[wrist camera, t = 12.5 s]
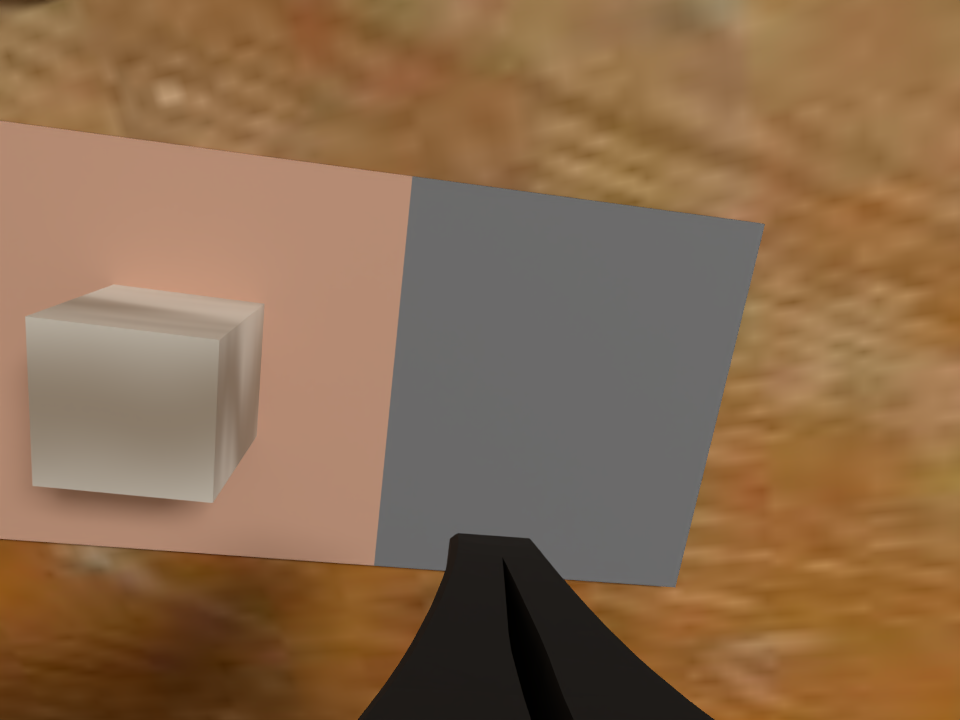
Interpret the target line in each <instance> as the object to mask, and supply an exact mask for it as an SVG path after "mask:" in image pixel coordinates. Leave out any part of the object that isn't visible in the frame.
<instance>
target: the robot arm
mask: <svg viewBox="0 0 960 720" xmlns="http://www.w3.org/2000/svg"><path fill="white" fill-rule="evenodd" d="M358 720H714V719H713V718H711V717H710V716H709V715H707V714H706V713H705V712H703V711H702V710H701V709H699V708H698V707H697V706H695V705H694V704H693V703H692V702H690V701H689V700H688V699H686V698H685V697H684V696H683V695H682V694H680V693H679V692H678V691H677V690H676V689H674V688H673V687H672V686H671V685H670V684H668V683H667V682H666V681H665V680H664V679H662V678H661V677H660V676H659V675H657V674H656V673H655V672H654V671H653V670H651V669H650V668H649V667H648V666H647V665H646V664H645V663H644V662H643V661H641V660H640V659H639V658H638V657H637V656H636V655H635V654H634V653H633V652H632V651H631V650H630V649H629V648H628V647H627V646H626V645H625V644H624V643H623V642H622V641H621V640H619V639H618V638H617V637H616V636H615V635H614V634H613V633H612V632H611V631H610V630H609V629H608V628H607V627H606V626H605V625H604V624H603V623H602V621H601V620H600V619H599V618H598V617H597V616H596V615H595V614H594V613H593V612H592V611H591V610H590V609H589V608H588V607H587V605H586V604H585V603H584V602H583V601H582V600H581V599H580V598H579V597H578V595H577V594H576V593H575V592H574V591H573V590H572V589H571V587H570V586H569V585H568V584H567V583H566V582H565V580H564V579H563V578H562V577H561V576H560V574H559V573H558V572H557V571H556V570H555V568H554V567H553V566H552V565H551V563H550V562H549V561H548V560H547V559H546V557H545V556H544V555H543V554H542V552H541V551H540V550H539V549H538V548H537V546H536V545H535V544H534V543H533V542H532V540H531V539H530V538H520V537H506V536H492V535H478V534H464V533H457V534H455V535H454V536H453V537H451V538H450V541H449V549H448V557H447V565H446V570H445V573H444V576H443V579H442V581H441V584H440V586H439V589H438V591H437V594H436V596H435V598H434V601H433V603H432V605H431V608H430V610H429V612H428V613H427V615H426V617H425V619H424V621H423V623H422V625H421V627H420V629H419V631H418V632H417V634H416V636H415V638H414V640H413V642H412V643H411V645H410V647H409V648H408V650H407V652H406V653H405V655H404V657H403V658H402V660H401V661H400V663H399V664H398V666H397V667H396V669H395V670H394V672H393V673H392V675H391V676H390V678H389V679H388V681H387V682H386V683H385V685H384V686H383V688H382V689H381V690H380V691H379V693H378V694H377V695H376V697H375V698H374V699H373V701H372V702H371V703H370V705H369V706H368V707H367V709H366V710H365V711H364V712H363V714H362V715H361V716H360V717H359V719H358Z"/></svg>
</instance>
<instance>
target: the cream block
mask: <svg viewBox="0 0 960 720" xmlns="http://www.w3.org/2000/svg"><path fill="white" fill-rule="evenodd" d="M264 305H265V304H263V303H255V302H247V301H240V300H232V299H224V298H216V297H208V296H201V295H193V294H185V293H177V292H169V291H162V290H154V289H146V288H138V287H130V286H123V285H115V284H113V285H111V286H108V287H105V288H102V289H100V290H97V291H94V292H91V293H89V294H86V295H83V296H80V297H78V298H75V299H72V300H69V301H66V302H64V303H61V304H58V305H55V306H53V307H50V308H47V309H44V310H42V311H39V312H36V313H33V314H31V315H28V316H25V323H26V346H27V369H28V392H29V415H30V438H31V461H32V484H33V486H39V487H50V488H60V489H71V490H81V491H92V492H103V493H113V494H124V495H134V496H145V497H155V498H166V499H176V500H187V501H197V502H208V503H213V502H214V500H215V499H216V497H217V496H218V494H219V493H220V491H221V490H222V488H223V487H224V485H225V484H226V482H227V481H228V479H229V477H230V476H231V474H232V473H233V471H234V470H235V468H236V467H237V465H238V464H239V462H240V461H241V459H242V458H243V456H244V455H245V453H246V452H247V450H248V449H249V447H250V446H251V444H252V443H253V441H254V439H255V438H256V436H257V424H258V407H259V390H260V373H261V356H262V339H263V322H264Z"/></svg>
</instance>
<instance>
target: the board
mask: <svg viewBox="0 0 960 720" xmlns="http://www.w3.org/2000/svg"><path fill="white" fill-rule="evenodd" d="M764 225H765V224H761V223H755V222H748V221H740V220H733V219H725V218H718V217H710V216H703V215H696V214H688V213H681V212H673V211H666V210H658V209H651V208H644V207H636V206H629V205H621V204H614V203H606V202H599V201H592V200H584V199H577V198H569V197H562V196H555V195H547V194H540V193H532V192H525V191H517V190H510V189H503V188H495V187H488V186H480V185H473V184H465V183H458V182H451V181H443V180H436V179H428V178H421V177H413V176H406V175H399V174H391V173H384V172H376V171H369V170H362V169H354V168H347V167H339V166H332V165H324V164H317V163H310V162H302V161H295V160H287V159H280V158H272V157H265V156H258V155H250V154H243V153H235V152H228V151H221V150H213V149H206V148H198V147H191V146H183V145H176V144H169V143H161V142H154V141H146V140H139V139H131V138H124V137H117V136H109V135H102V134H94V133H87V132H79V131H72V130H65V129H57V128H50V127H42V126H35V125H28V124H20V123H13V122H5V121H0V539H11V540H25V541H39V542H53V543H67V544H81V545H95V546H109V547H123V548H136V549H150V550H164V551H178V552H192V553H206V554H220V555H234V556H248V557H262V558H276V559H290V560H304V561H317V562H331V563H345V564H359V565H373V566H387V567H401V568H415V569H429V570H443V571H445V570H446V565H447V557H448V549H449V541H450V538H451V537H453V536H454V535H455V534H457V533H464V534H478V535H492V536H506V537H520V538H530V539H531V540H532V542H533V543H534V544H535V545H536V546H537V548H538V549H539V550H540V551H541V552H542V554H543V555H544V556H545V557H546V559H547V560H548V561H549V562H550V563H551V565H552V566H553V567H554V568H555V570H556V571H557V572H558V573H559V574H560V576H561V577H562V578H563V579H568V580H582V581H596V582H610V583H624V584H638V585H652V586H666V587H675V586H676V582H677V578H678V574H679V570H680V566H681V562H682V558H683V554H684V550H685V546H686V541H687V537H688V533H689V529H690V525H691V521H692V517H693V513H694V509H695V505H696V501H697V497H698V493H699V489H700V485H701V481H702V477H703V473H704V469H705V464H706V460H707V456H708V452H709V448H710V444H711V440H712V436H713V432H714V428H715V424H716V420H717V416H718V412H719V408H720V404H721V400H722V396H723V392H724V387H725V383H726V379H727V375H728V371H729V367H730V363H731V359H732V355H733V351H734V347H735V343H736V339H737V335H738V331H739V327H740V323H741V319H742V315H743V310H744V306H745V302H746V298H747V294H748V290H749V286H750V282H751V278H752V274H753V270H754V266H755V262H756V258H757V254H758V250H759V246H760V242H761V238H762V233H763V229H764ZM113 284H115V285H123V286H130V287H138V288H146V289H154V290H162V291H169V292H177V293H185V294H193V295H201V296H208V297H216V298H224V299H232V300H240V301H247V302H255V303H263V304H265V305H264V322H263V339H262V356H261V373H260V390H259V407H258V424H257V436H256V438H255V439H254V441H253V443H252V444H251V446H250V447H249V449H248V450H247V452H246V453H245V455H244V456H243V458H242V459H241V461H240V462H239V464H238V465H237V467H236V468H235V470H234V471H233V473H232V474H231V476H230V477H229V479H228V481H227V482H226V484H225V485H224V487H223V488H222V490H221V491H220V493H219V494H218V496H217V497H216V499H215V500H214V502H213V503H208V502H197V501H187V500H176V499H166V498H155V497H145V496H134V495H124V494H113V493H103V492H92V491H81V490H71V489H60V488H50V487H39V486H33V484H32V461H31V438H30V415H29V392H28V369H27V346H26V323H25V316H28V315H31V314H33V313H36V312H39V311H42V310H44V309H47V308H50V307H53V306H55V305H58V304H61V303H64V302H66V301H69V300H72V299H75V298H78V297H80V296H83V295H86V294H89V293H91V292H94V291H97V290H100V289H102V288H105V287H108V286H111V285H113Z"/></svg>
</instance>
